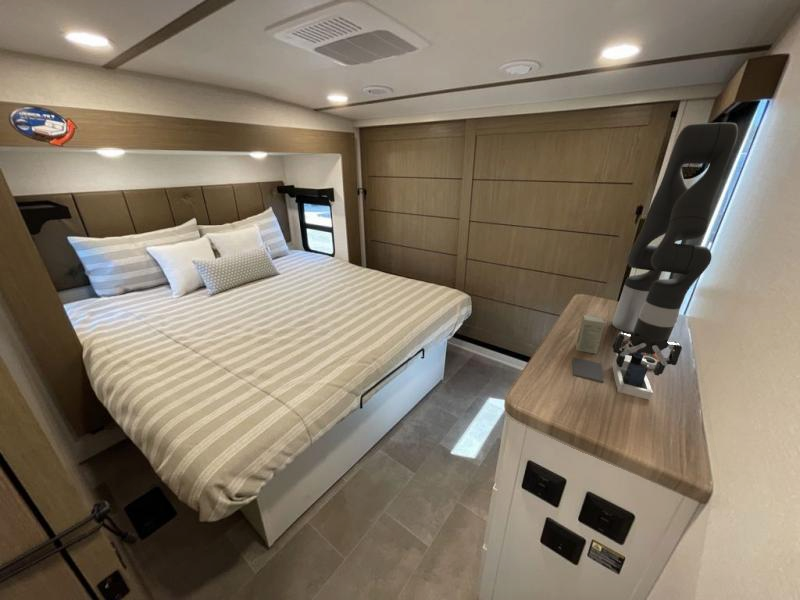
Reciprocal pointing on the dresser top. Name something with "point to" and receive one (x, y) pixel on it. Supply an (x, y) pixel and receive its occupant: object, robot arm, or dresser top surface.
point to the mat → (587, 369)
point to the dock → (628, 389)
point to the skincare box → (590, 334)
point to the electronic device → (646, 357)
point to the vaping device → (636, 370)
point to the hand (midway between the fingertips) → (637, 369)
